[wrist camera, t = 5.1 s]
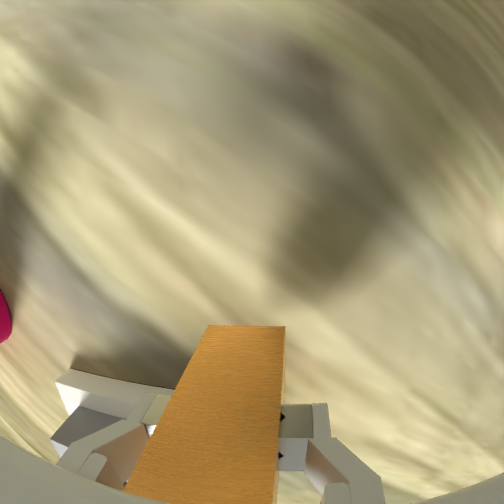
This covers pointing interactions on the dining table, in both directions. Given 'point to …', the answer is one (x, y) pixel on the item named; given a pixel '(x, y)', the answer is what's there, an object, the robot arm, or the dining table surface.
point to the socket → (95, 404)
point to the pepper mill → (4, 319)
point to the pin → (220, 423)
